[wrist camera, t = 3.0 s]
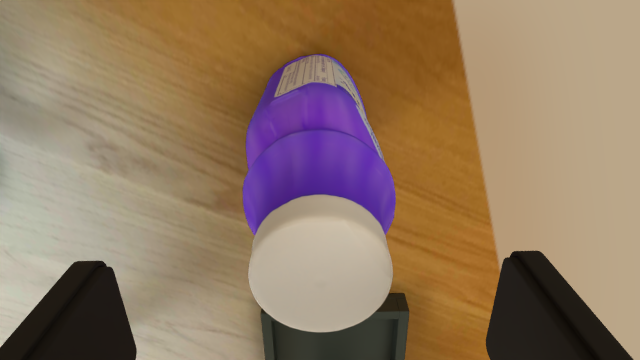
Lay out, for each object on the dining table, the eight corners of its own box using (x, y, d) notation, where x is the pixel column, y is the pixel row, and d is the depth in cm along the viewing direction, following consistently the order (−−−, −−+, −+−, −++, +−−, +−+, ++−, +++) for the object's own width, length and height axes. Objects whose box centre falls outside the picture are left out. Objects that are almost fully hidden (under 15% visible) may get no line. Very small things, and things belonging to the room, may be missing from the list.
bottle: (377, 139, 28) (456, 337, 12) (301, 169, 29) (283, 390, 13) (337, 36, 25) (371, 119, 9) (254, 74, 26) (157, 207, 10)
